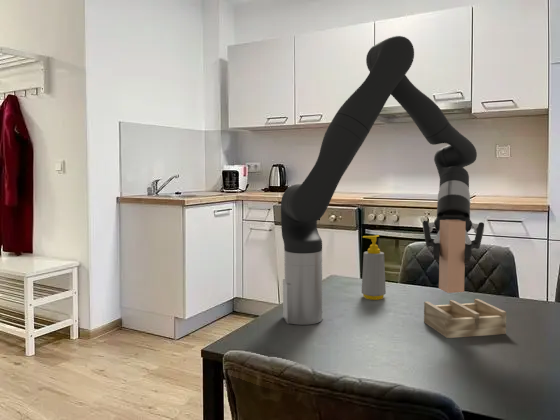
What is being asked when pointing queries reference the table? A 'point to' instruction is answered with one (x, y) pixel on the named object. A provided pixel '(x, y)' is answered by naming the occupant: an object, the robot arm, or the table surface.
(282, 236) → the robot arm
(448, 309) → the rack
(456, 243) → the clay bar
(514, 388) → the table surface
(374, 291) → the soap bottle
